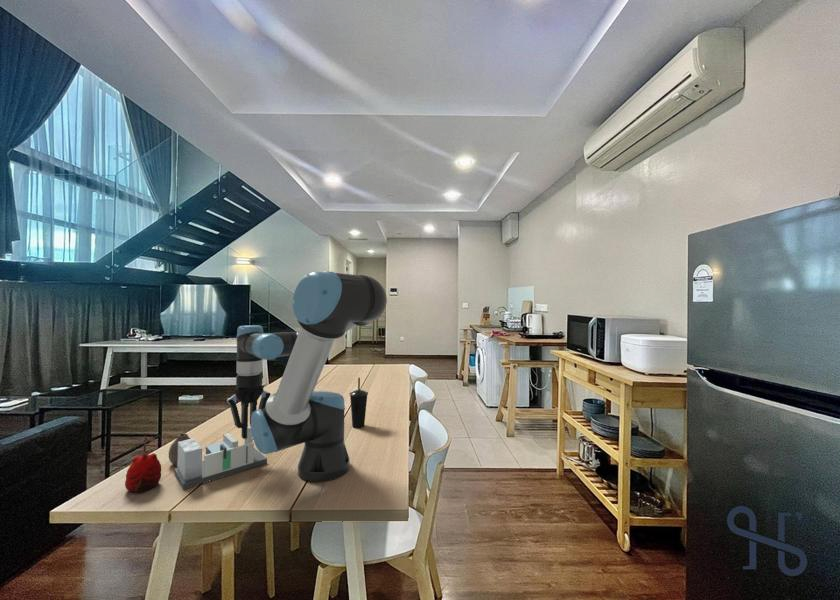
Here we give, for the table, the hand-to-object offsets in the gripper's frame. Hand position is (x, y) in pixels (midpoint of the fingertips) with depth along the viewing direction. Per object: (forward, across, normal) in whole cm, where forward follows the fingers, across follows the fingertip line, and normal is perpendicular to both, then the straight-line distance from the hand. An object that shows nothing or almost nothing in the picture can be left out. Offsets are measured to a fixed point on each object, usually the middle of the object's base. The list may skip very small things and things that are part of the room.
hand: (248, 447), depth 108 cm
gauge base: (+4, +7, 0) cm, 8 cm away
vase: (+5, +15, -13) cm, 21 cm away
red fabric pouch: (+5, +26, -3) cm, 26 cm away
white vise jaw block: (+3, +16, 0) cm, 16 cm away
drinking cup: (+5, -44, -2) cm, 44 cm away
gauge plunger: (+3, +8, +1) cm, 8 cm away
